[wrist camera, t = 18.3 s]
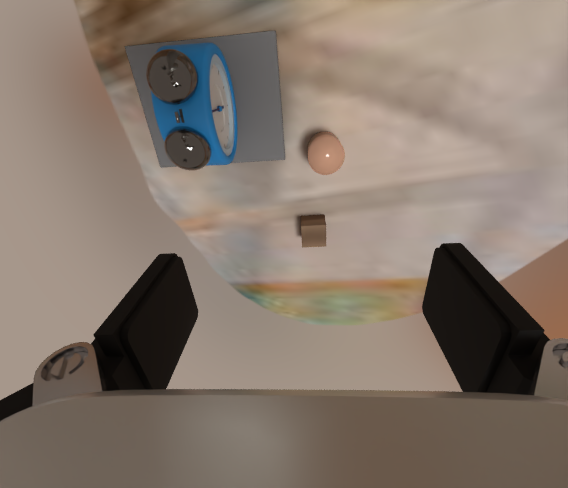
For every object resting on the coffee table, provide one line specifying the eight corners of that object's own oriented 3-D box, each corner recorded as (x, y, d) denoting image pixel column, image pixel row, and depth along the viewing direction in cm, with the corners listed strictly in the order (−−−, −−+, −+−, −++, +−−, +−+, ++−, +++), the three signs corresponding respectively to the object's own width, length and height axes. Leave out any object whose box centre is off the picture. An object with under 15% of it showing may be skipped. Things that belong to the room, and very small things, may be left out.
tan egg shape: (306, 132, 42) (307, 139, 38) (340, 130, 42) (345, 136, 38) (308, 166, 45) (308, 175, 40) (340, 164, 44) (344, 173, 40)
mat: (127, 46, 38) (124, 46, 37) (275, 31, 36) (275, 30, 36) (162, 166, 46) (160, 167, 45) (285, 158, 44) (285, 159, 44)
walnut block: (301, 215, 49) (300, 226, 46) (324, 214, 49) (325, 224, 45) (302, 235, 51) (302, 247, 48) (324, 234, 51) (326, 246, 47)
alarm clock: (242, 151, 43) (216, 182, 30) (203, 153, 44) (161, 184, 31) (229, 47, 37) (190, 31, 24) (183, 51, 37) (120, 37, 24)
